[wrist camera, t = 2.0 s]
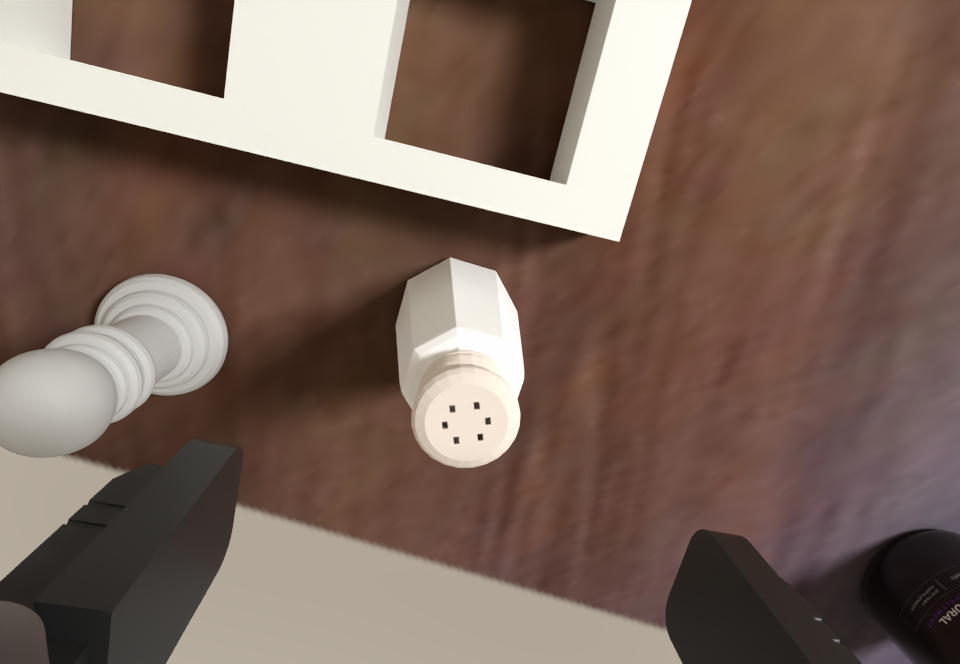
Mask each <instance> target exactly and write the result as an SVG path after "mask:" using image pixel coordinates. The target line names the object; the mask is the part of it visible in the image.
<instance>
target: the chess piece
mask: <svg viewBox="0 0 960 664" xmlns="http://www.w3.org/2000/svg"><path fill="white" fill-rule="evenodd" d="M227 349H228V332H227V327H226V323H225V320H224V318H223V316H222V313H221V312H220V310H219V308H218V307H217V305H216V304H215V303H214V302H213V300H212V299H211V298H210V297H209V296H208V295H207V294H206V293H205V292H203V291H202V290H201V289H200V288H198V287H197V286H195V285H193V284H192V283H190V282H187V281H185V280H183V279H180V278H177V277H173V276H168V275H162V274H145V275H138V276H135V277H132V278H129V279H127V280H125V281H123V282H121V283H120V284H118V285H117V286H115V287H114V288H113V289H112V290H111V291H110V292H109V293H108V294H107V295H106V296H105V298H104V299H103V300H102V302H101V304H100V305H99V308H98V310H97V313H96V317H95V322H94V325H90V326H85V327H81V328H79V329H77V330H74V331H73V332H71V333H67V334H64V335H62V336H59V337H57V338H56V339H54V340H53V341H52V342H50V343H49V344H48V345H47V346H46V347H45V348H44V349H40V350H34V351H30V352H26V353H23V354H20V355H18V356H15V357H13V358H11V359H10V360H8V361H6V362H5V363H3V364H2V365H1V366H0V446H2V447H3V448H5V449H7V450H9V451H11V452H13V453H16V454H20V455H23V456H29V457H55V456H61V455H65V454H69V453H72V452H75V451H78V450H80V449H82V448H84V447H86V446H88V445H89V444H91V443H92V442H94V441H95V440H96V439H98V438H99V437H100V436H101V435H102V434H103V433H104V431H105V430H106V429H107V427H108V426H109V424H110V423H112V422H116V421H118V420H120V419H122V418H124V417H126V416H127V415H128V414H130V413H131V412H132V411H133V410H134V409H136V408H137V407H139V406H141V405H142V404H143V403H144V402H145V401H146V400H147V399H148V397H149V396H150V394H156V395H178V394H183V393H187V392H191V391H194V390H196V389H198V388H200V387H202V386H204V385H205V384H207V383H208V382H209V381H210V380H211V379H213V377H214V376H215V375H216V374H217V373H218V371H219V370H220V368H221V367H222V365H223V362H224V360H225V357H226V353H227Z"/></svg>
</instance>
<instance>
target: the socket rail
mask: <svg viewBox="0 0 960 664" xmlns="http://www.w3.org/2000/svg"><path fill="white" fill-rule="evenodd" d="M72 1H73V0H0V92H2V93H6V94H10V95H14V96H19V97H23V98H27V99H31V100H35V101H39V102H43V103H47V104H52V105H56V106H60V107H64V108H68V109H72V110H76V111H81V112H85V113H89V114H93V115H97V116H101V117H105V118H110V119H114V120H118V121H122V122H126V123H130V124H134V125H139V126H143V127H147V128H151V129H155V130H159V131H163V132H167V133H172V134H176V135H180V136H184V137H188V138H192V139H196V140H201V141H205V142H209V143H213V144H217V145H221V146H225V147H230V148H234V149H238V150H242V151H246V152H250V153H254V154H259V155H263V156H267V157H271V158H275V159H279V160H283V161H288V162H292V163H296V164H300V165H304V166H308V167H312V168H316V169H321V170H325V171H329V172H333V173H337V174H341V175H345V176H350V177H354V178H358V179H362V180H366V181H370V182H374V183H379V184H383V185H387V186H391V187H395V188H399V189H403V190H408V191H412V192H416V193H420V194H424V195H428V196H432V197H437V198H441V199H445V200H449V201H453V202H457V203H461V204H465V205H470V206H474V207H478V208H482V209H486V210H490V211H494V212H499V213H503V214H507V215H511V216H515V217H519V218H523V219H528V220H532V221H536V222H540V223H544V224H548V225H552V226H557V227H561V228H565V229H569V230H573V231H577V232H581V233H586V234H590V235H594V236H598V237H602V238H606V239H610V240H614V241H620V237H621V234H622V231H623V227H624V224H625V221H626V217H627V214H628V211H629V207H630V204H631V201H632V197H633V194H634V191H635V187H636V184H637V181H638V177H639V174H640V171H641V168H642V164H643V161H644V158H645V154H646V151H647V148H648V144H649V141H650V138H651V134H652V131H653V128H654V124H655V121H656V118H657V114H658V111H659V108H660V104H661V101H662V98H663V94H664V91H665V88H666V84H667V81H668V78H669V74H670V71H671V68H672V64H673V61H674V58H675V55H676V51H677V48H678V45H679V41H680V38H681V35H682V31H683V28H684V25H685V21H686V18H687V15H688V11H689V8H690V5H691V1H692V0H587V1H590V2H593V3H596V4H595V7H594V11H593V15H592V19H591V23H590V27H589V30H588V34H587V38H586V42H585V46H584V50H583V53H582V57H581V61H580V65H579V69H578V73H577V76H576V80H575V84H574V88H573V92H572V96H571V99H570V103H569V107H568V111H567V115H566V119H565V122H564V126H563V130H562V134H561V138H560V142H559V145H558V149H557V153H556V157H555V161H554V165H553V168H552V172H551V176H550V180H549V181H548V180H544V179H540V178H536V177H532V176H528V175H525V174H521V173H517V172H513V171H509V170H505V169H501V168H497V167H493V166H489V165H485V164H481V163H477V162H473V161H469V160H465V159H461V158H457V157H453V156H449V155H445V154H441V153H437V152H433V151H429V150H425V149H421V148H417V147H413V146H409V145H405V144H401V143H398V142H394V141H390V140H386V139H385V134H386V128H387V123H388V117H389V112H390V106H391V101H392V95H393V90H394V84H395V79H396V73H397V68H398V62H399V57H400V51H401V46H402V41H403V35H404V30H405V24H406V19H407V13H408V8H409V2H410V0H235V2H234V11H233V20H232V29H231V39H230V48H229V57H228V66H227V75H226V84H225V93H224V99H223V98H219V97H215V96H211V95H207V94H203V93H199V92H195V91H191V90H187V89H183V88H179V87H175V86H171V85H167V84H163V83H159V82H155V81H151V80H147V79H144V78H140V77H136V76H132V75H128V74H124V73H120V72H116V71H112V70H108V69H104V68H100V67H96V66H92V65H88V64H84V63H80V62H76V61H72V60H70V49H71V25H72Z"/></svg>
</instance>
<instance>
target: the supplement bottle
mask: <svg viewBox="0 0 960 664" xmlns="http://www.w3.org/2000/svg"><path fill="white" fill-rule="evenodd" d="M863 596H864V602H865V606H866V609H867V611H868V613H869V615H870V617H871V618H872V620H873V621H874V622H875V623H876V625H877V626H878V627H879V628H880V629H881V630H882V631H883V632H884V633H885V634H886V636H887V637H888V638H889V639H890V640H891V641H892V642H893V643H894V644H895V645H896V646H897V647H898V648H899V650H900V651H901V652H902V653H903V654H904V655H905V656H906V657H907V658H908V659H909V660H910V661H911V662H912V663H913V664H960V534H958V533H954V532H949V531H938V530H937V531H925V532H920V533H916V534H913V535H910V536H907V537H905V538H903V539H901V540H899V541H897V542H896V543H894V544H892V545H891V546H890V547H888V548H887V549H886V550H885V551H884V552H882V553H881V555H880V556H879V557H878V558H877V559H876V560H875V562H874V563H873V564H872V566H871V568H870V569H869V571H868V573H867V576H866V579H865V583H864V589H863Z"/></svg>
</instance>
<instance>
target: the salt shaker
mask: <svg viewBox="0 0 960 664" xmlns="http://www.w3.org/2000/svg"><path fill="white" fill-rule="evenodd" d="M396 339H397V353H398V367H399V381H400V387H401V392H402V394H403V396H404V397H405V399H406V401H407V402H408V404H409V405H410V407H411V409H412V429H413V432H414V436H415V438H416V440H417V442H418V443H419V445H420V446H421V448H422V449H423V450H424V451H425V452H426V453H427V454H428V455H429V456H430V457H431V458H433V459H435V460H437V461H439V462H440V463H442V464H444V465H448V466H453V467H457V468H473V467H477V466H481V465H485V464H487V463H489V462H491V461H493V460H495V459H497V458H498V457H499V456H501V455H502V454H503V453H504V452H505V451H506V450H507V449H508V448H509V447H510V445H511V444H512V442H513V441H514V439H515V438H516V435H517V432H518V429H519V426H520V409H519V404H518V400H517V398H518V395H519V392H520V389H521V386H522V383H523V380H524V365H523V356H522V348H521V339H520V331H519V322H518V314H517V310H516V308H515V306H514V305H513V303H512V301H511V299H510V297H509V295H508V293H507V291H506V289H505V288H504V286H503V284H502V282H501V280H500V278H499V276H498V274H497V272H496V271H494V270H491V269H487V268H484V267H480V266H477V265H474V264H470V263H467V262H464V261H460V260H457V259H453V258H448V259H446V260H444V261H442V262H441V263H439V264H437V265H435V266H433V267H431V268H430V269H428V270H426V271H424V272H422V273H420V274H419V275H417V276H415V277H413V278H411V279H409V280H408V281H407V285H406V289H405V292H404V296H403V300H402V303H401V307H400V311H399V314H398V318H397V321H396Z"/></svg>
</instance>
